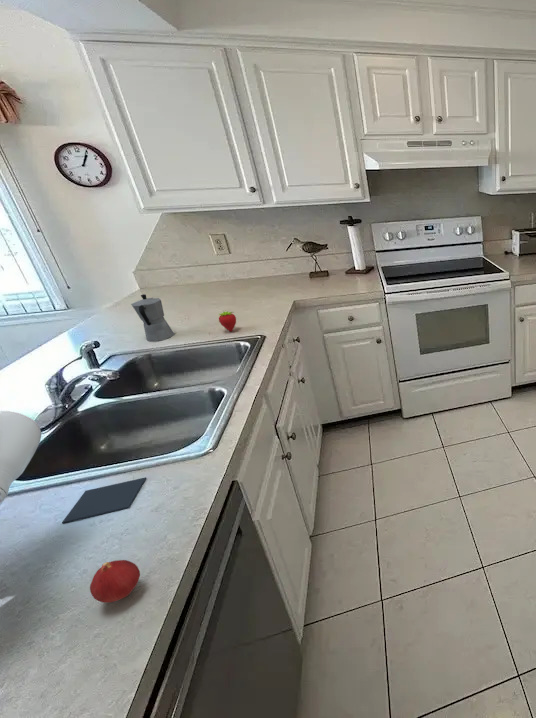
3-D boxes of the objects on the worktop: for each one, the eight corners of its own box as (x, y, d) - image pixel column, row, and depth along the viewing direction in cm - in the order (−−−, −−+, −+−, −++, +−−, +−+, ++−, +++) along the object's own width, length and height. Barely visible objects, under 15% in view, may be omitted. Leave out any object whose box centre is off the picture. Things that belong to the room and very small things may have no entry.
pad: (62, 523, 81) (61, 522, 81) (86, 491, 89) (85, 490, 89) (129, 508, 85) (128, 506, 84) (146, 478, 92) (146, 477, 92)
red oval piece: (93, 607, 66) (69, 574, 63) (131, 575, 71) (111, 543, 67) (118, 618, 64) (95, 585, 61) (155, 584, 69) (136, 551, 66)
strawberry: (237, 326, 173) (230, 304, 169) (241, 332, 168) (234, 309, 163) (221, 330, 169) (213, 307, 165) (224, 336, 164) (216, 312, 160)
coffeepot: (150, 333, 169) (132, 291, 161) (178, 329, 172) (161, 288, 165) (140, 348, 156) (120, 303, 148) (170, 342, 160) (152, 299, 152)
